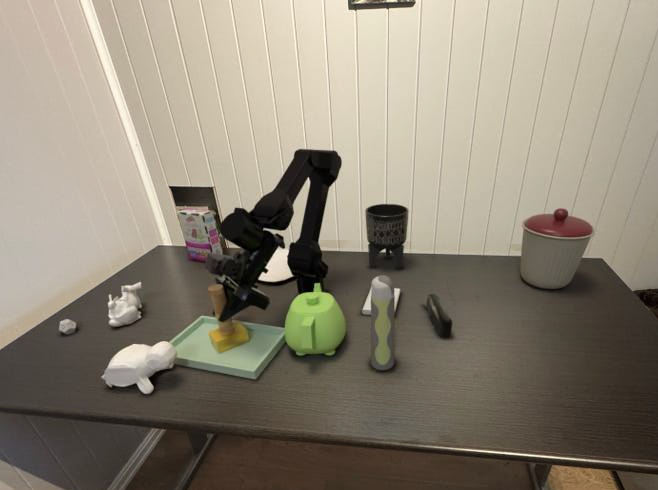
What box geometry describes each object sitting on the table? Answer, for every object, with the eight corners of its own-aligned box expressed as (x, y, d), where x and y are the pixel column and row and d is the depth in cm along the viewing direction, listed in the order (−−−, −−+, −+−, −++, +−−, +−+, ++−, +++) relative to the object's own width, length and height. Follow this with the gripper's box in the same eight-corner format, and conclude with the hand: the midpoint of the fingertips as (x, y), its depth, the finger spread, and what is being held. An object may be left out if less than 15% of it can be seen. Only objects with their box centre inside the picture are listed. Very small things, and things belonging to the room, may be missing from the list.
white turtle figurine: (117, 403, 74) (175, 386, 70) (85, 372, 70) (145, 352, 66) (143, 374, 81) (197, 357, 77) (116, 344, 77) (172, 325, 73)
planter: (369, 255, 127) (368, 203, 117) (407, 257, 125) (409, 204, 116) (363, 272, 116) (362, 215, 107) (405, 274, 114) (407, 216, 105)
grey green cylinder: (371, 356, 80) (369, 272, 70) (393, 356, 80) (395, 272, 70) (370, 371, 76) (368, 284, 66) (394, 371, 76) (396, 284, 65)
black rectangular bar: (455, 320, 83) (434, 287, 95) (442, 321, 83) (423, 288, 95) (452, 338, 86) (432, 304, 98) (440, 339, 85) (421, 305, 98)
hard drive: (400, 293, 104) (394, 317, 93) (371, 291, 105) (362, 314, 95) (400, 288, 103) (394, 311, 93) (371, 286, 104) (361, 308, 94)
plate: (279, 250, 133) (278, 245, 132) (325, 264, 122) (325, 259, 121) (228, 272, 118) (226, 267, 117) (275, 290, 107) (274, 284, 106)
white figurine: (138, 304, 101) (125, 272, 96) (162, 307, 100) (151, 274, 95) (103, 329, 91) (87, 294, 86) (130, 332, 90) (115, 297, 85)
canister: (591, 284, 106) (615, 210, 95) (553, 303, 98) (575, 224, 87) (535, 263, 119) (551, 196, 108) (497, 278, 111) (510, 207, 100)
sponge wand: (241, 331, 88) (227, 278, 81) (249, 340, 85) (236, 286, 77) (211, 343, 84) (194, 288, 77) (219, 353, 81) (202, 297, 74)
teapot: (295, 319, 93) (289, 273, 87) (349, 318, 93) (346, 273, 87) (278, 372, 76) (268, 320, 70) (343, 371, 76) (340, 320, 70)
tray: (290, 335, 87) (289, 328, 86) (255, 379, 75) (254, 371, 74) (204, 322, 93) (201, 315, 92) (158, 361, 80) (155, 353, 79)
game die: (57, 334, 90) (51, 324, 88) (72, 326, 93) (67, 316, 91) (67, 337, 89) (61, 327, 87) (82, 329, 91) (77, 319, 90)
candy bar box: (225, 258, 127) (214, 210, 119) (215, 263, 123) (202, 214, 115) (199, 253, 131) (187, 207, 122) (189, 259, 127) (175, 211, 118)
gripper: (207, 226, 80) (168, 288, 80) (243, 251, 68) (198, 324, 68) (248, 251, 89) (213, 306, 89) (287, 277, 77) (247, 341, 76)
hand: (217, 318), depth 80 cm, fingers closed on sponge wand, 3 cm apart
